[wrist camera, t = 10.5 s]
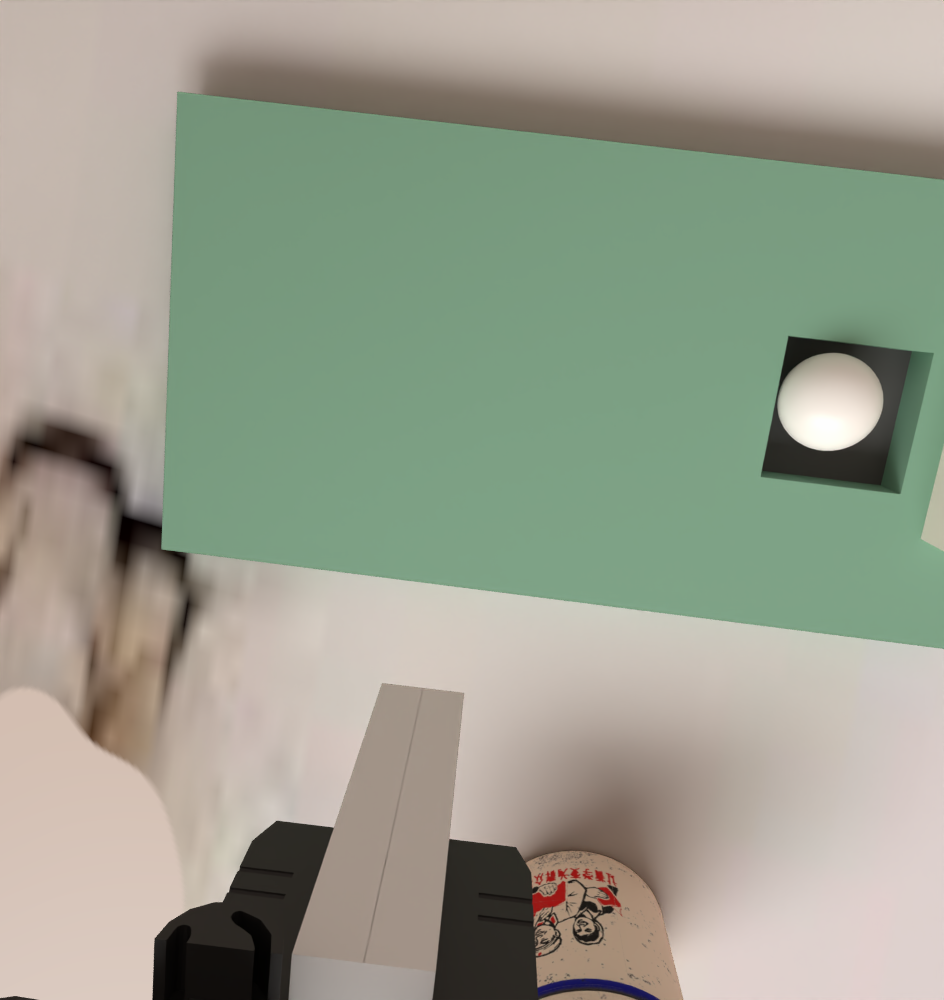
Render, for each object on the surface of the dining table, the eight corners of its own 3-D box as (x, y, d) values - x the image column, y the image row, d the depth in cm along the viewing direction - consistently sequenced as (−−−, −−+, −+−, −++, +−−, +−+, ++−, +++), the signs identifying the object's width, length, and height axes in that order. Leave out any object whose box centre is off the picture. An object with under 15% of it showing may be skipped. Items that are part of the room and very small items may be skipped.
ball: (879, 455, 33) (784, 437, 35) (902, 360, 32) (802, 348, 34) (858, 464, 30) (755, 443, 32) (882, 359, 29) (775, 345, 31)
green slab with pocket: (180, 536, 37) (138, 564, 33) (197, 105, 33) (152, 74, 29) (942, 633, 36) (998, 674, 32) (1054, 203, 32) (1133, 187, 28)
